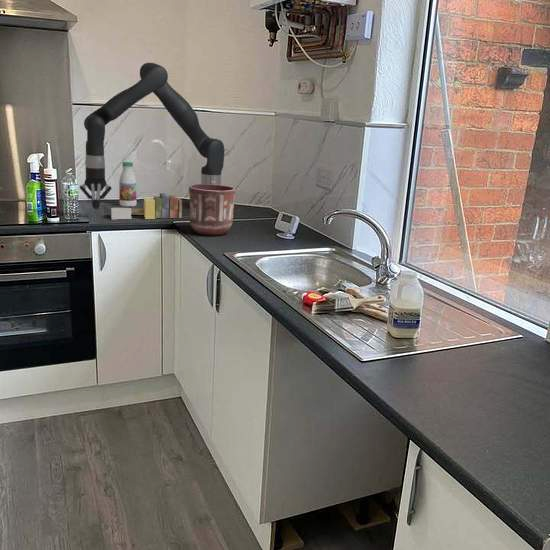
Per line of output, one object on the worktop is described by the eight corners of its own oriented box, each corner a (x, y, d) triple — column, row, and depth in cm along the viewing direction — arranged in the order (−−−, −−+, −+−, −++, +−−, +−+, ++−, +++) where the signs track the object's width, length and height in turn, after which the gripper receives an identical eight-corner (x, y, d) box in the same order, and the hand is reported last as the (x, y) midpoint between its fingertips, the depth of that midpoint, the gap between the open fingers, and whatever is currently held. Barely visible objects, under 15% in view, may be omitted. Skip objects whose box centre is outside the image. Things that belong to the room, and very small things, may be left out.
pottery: (196, 238, 213) (198, 190, 208) (182, 228, 228) (183, 183, 223) (240, 237, 221) (242, 190, 216) (223, 227, 236) (225, 183, 231)
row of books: (180, 215, 253) (180, 192, 250) (184, 218, 246) (184, 195, 243) (110, 215, 243) (110, 192, 240) (112, 219, 236) (111, 195, 233)
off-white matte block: (131, 217, 243) (131, 208, 242) (131, 220, 238) (131, 210, 237) (111, 217, 241) (111, 207, 240) (111, 220, 236) (111, 210, 235)
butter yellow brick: (153, 217, 246) (153, 198, 243) (154, 219, 241) (155, 200, 239) (143, 217, 244) (143, 198, 242) (145, 219, 240) (145, 200, 237)
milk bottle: (118, 204, 269) (117, 161, 263) (134, 203, 272) (134, 161, 266) (121, 207, 262) (120, 163, 256) (138, 206, 265) (137, 163, 260)
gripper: (78, 167, 224) (79, 210, 229) (113, 168, 229) (113, 210, 234) (77, 164, 231) (78, 207, 236) (111, 165, 235) (111, 207, 240)
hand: (96, 208), depth 235 cm, fingers closed
